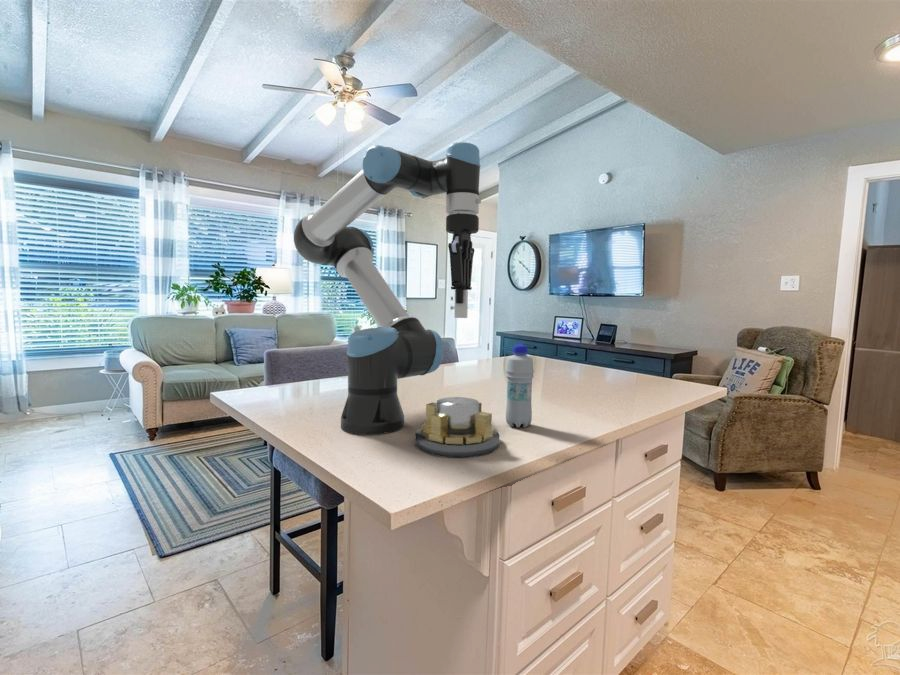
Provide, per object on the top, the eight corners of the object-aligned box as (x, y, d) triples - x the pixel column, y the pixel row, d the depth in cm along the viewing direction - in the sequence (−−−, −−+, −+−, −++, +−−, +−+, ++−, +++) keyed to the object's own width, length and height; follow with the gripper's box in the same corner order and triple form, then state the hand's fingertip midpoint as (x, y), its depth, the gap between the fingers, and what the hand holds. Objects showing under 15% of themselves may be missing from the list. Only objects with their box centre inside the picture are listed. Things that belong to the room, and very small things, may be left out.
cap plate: (401, 451, 92) (401, 407, 91) (433, 427, 109) (433, 390, 108) (487, 462, 86) (488, 416, 85) (507, 435, 103) (507, 396, 102)
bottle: (531, 430, 107) (534, 346, 106) (503, 428, 109) (505, 345, 107) (532, 422, 114) (534, 343, 112) (505, 420, 115) (507, 342, 114)
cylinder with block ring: (467, 449, 87) (467, 422, 86) (406, 434, 96) (406, 410, 95) (506, 430, 99) (507, 407, 99) (449, 418, 108) (449, 397, 108)
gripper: (470, 209, 97) (468, 319, 99) (485, 219, 109) (483, 317, 111) (437, 210, 99) (436, 318, 102) (455, 220, 112) (454, 316, 114)
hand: (460, 317), depth 106 cm, fingers closed
